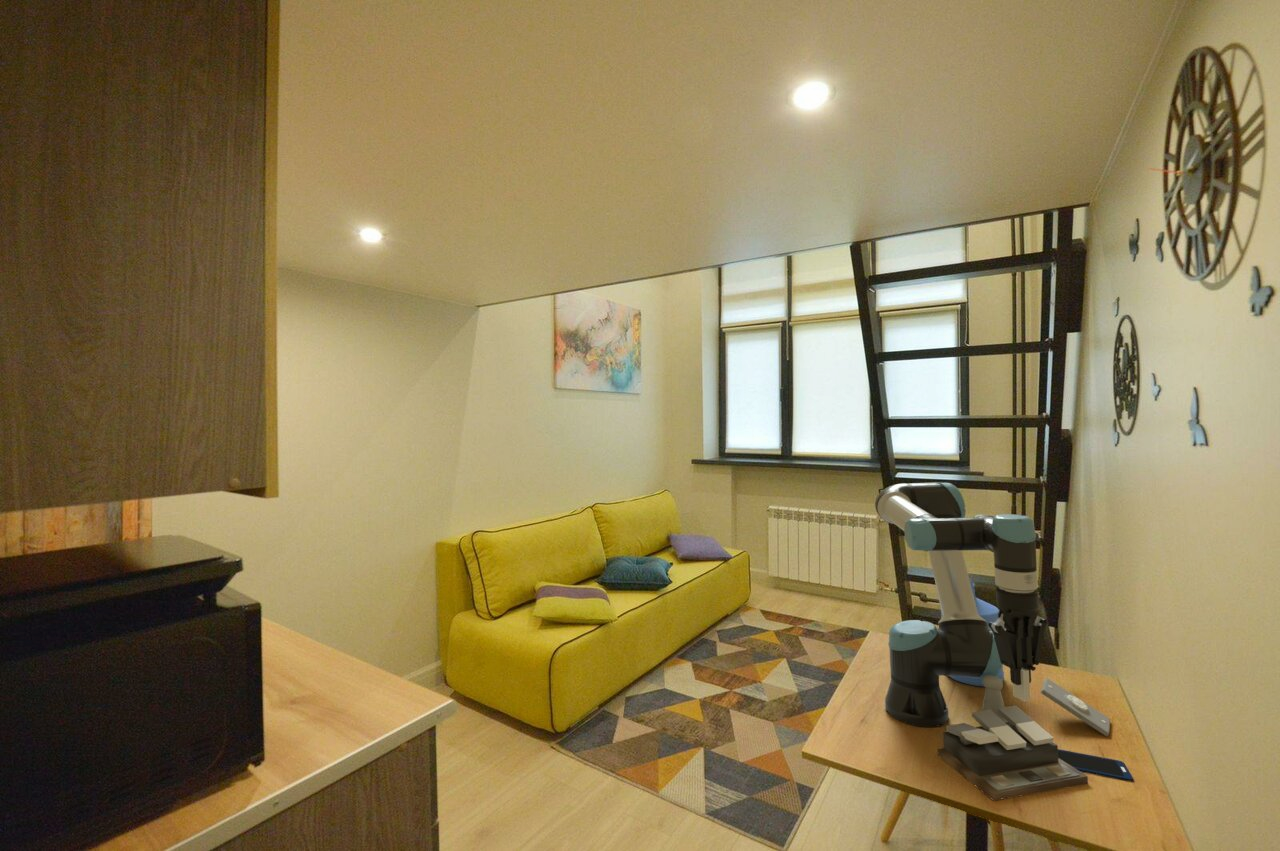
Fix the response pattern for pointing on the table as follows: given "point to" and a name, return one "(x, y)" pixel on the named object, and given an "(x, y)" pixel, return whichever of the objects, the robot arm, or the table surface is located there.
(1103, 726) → the light switch
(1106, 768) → the cell phone
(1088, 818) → the table surface
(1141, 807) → the table surface
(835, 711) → the table surface
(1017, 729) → the right rocker
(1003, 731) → the middle rocker
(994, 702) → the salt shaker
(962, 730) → the left rocker
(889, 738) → the table surface
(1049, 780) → the switch console
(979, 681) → the water jug
